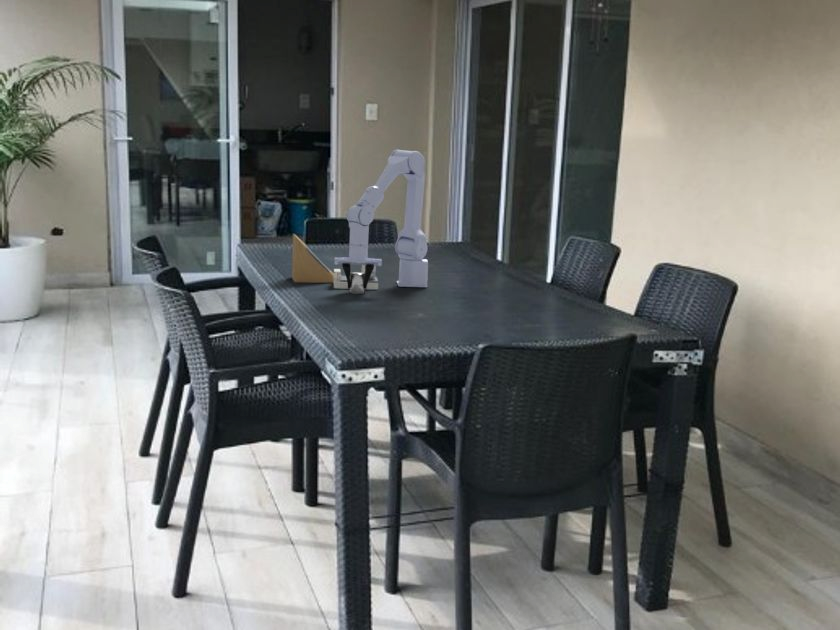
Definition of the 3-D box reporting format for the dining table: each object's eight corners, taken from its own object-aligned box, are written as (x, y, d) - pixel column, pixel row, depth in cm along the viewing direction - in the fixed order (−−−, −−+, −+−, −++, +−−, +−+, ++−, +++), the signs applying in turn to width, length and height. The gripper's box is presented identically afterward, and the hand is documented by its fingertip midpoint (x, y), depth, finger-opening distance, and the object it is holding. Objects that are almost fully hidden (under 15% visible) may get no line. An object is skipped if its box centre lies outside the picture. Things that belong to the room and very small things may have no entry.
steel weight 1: (363, 291, 275) (364, 272, 273) (364, 294, 271) (365, 274, 269) (349, 290, 274) (350, 271, 273) (350, 293, 270) (350, 274, 269)
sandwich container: (341, 283, 287) (342, 237, 284) (294, 282, 283) (295, 236, 280) (337, 278, 295) (339, 234, 292) (291, 277, 291) (292, 233, 288)
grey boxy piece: (376, 284, 287) (376, 269, 286) (378, 289, 279) (378, 274, 277) (332, 282, 285) (332, 267, 284) (333, 288, 277) (333, 272, 276)
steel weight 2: (367, 277, 285) (368, 258, 283) (377, 279, 282) (378, 260, 281) (358, 278, 281) (359, 259, 280) (368, 280, 279) (369, 261, 277)
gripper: (335, 245, 264) (334, 289, 267) (383, 247, 266) (381, 291, 269) (334, 242, 271) (333, 285, 274) (381, 244, 273) (379, 286, 276)
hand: (357, 287), depth 272 cm, fingers closed on steel weight 1, 4 cm apart
